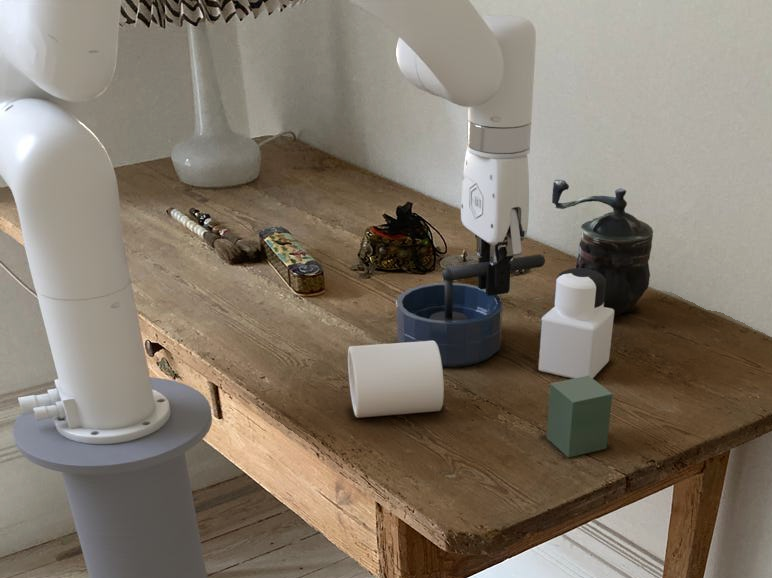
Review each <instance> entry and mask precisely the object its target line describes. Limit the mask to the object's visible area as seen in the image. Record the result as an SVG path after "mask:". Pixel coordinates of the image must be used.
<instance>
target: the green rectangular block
mask: <svg viewBox="0 0 772 578" xmlns="http://www.w3.org/2000/svg"><path fill="white" fill-rule="evenodd" d="M548 395H549V396H548V407H547V408H548V409H547V424H546V437H545V438H546V439H547V440H548V441H549V442H550V443H552V445H553V446H554V447H556V448H557V449H559V451H560V452H562V454H563V455H565V456H566V457H567V458H572V457H577V456H580V455H585V454H590V453H595V452H598V451H603V450H606V449H607V448H608V438H609V430H610V420H611V413H612V404H613V393H612V392H611V391H610V390H608V389H607V388H606V387H605V386H603V385H602V384H600V383H599V382H598V381H597V380H595V379H594V378H591V377H590V376H584V377H579V378H574V379H572V378H569V379H566V380H561V381H555V382H551V383H549V394H548Z"/></svg>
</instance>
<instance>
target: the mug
mask: <svg viewBox="0 0 772 578" xmlns="http://www.w3.org/2000/svg"><path fill="white" fill-rule="evenodd" d="M347 368H348V370H347V371H348V383H349V390H350V391H349V392H350V399H351V406H352V410H353V414H354V416H355V417H356V418H358V419H359V418H371V417H384V416H396V415H407V414H409V415H410V414H420V413H434V412H440V411H441V410H442V408H443V405H444V397H445V396H444V395H445V394H444V393H445V392H444V391H445V390H444V387H445V386H444V385H445V384H444V371H443V366H442V362H441V356H440V352H439V348H438V345H437V343H436V342H435V341H420V342H406V343H397V342H394V343H391V342H390V343H379V344H363V345H350V346H348V349H347Z"/></svg>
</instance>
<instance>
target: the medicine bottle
mask: <svg viewBox="0 0 772 578" xmlns="http://www.w3.org/2000/svg"><path fill="white" fill-rule="evenodd" d="M605 288H606V279H605V278H604V276H603V275H602V274H600V273H598V272H596V271H594V270H591V269H586V268H574V267H573V268H568V269H566V270H563V271H561V272H560V273H559V274H558V275H557V276H556V280H555V291H554V293H555V294H554V306H553V307H552V308H551V309H550V310H549V311H547V312H546V313H545V314H544V315H543V316H541V320H540V333H539V334H540V335H539V349H538V366H537V369H538V371H539V372H541V373H546V374H551V375H555V376H560V377H564V378H569V379H574V378H579V377H584V376H590V377H591V378H593V379H594V378H595V377H596V376H597V374H599V372H600V371H601V370H602V369H603V368H604V367H605V366H606V365H607V364H608V363H609V361H610V354H611V345H612V337H613V327H614V319H615V318H614V310H613V309H611V308H606V307H604V297H605Z"/></svg>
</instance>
